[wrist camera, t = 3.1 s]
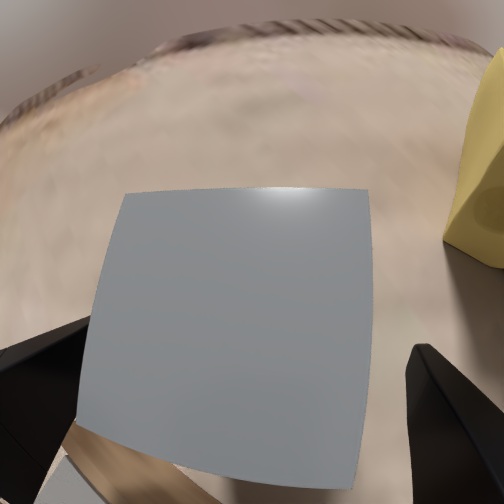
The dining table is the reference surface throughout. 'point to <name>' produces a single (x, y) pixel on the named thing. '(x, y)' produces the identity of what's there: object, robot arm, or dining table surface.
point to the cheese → (482, 174)
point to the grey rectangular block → (235, 333)
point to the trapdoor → (69, 487)
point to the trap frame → (130, 472)
